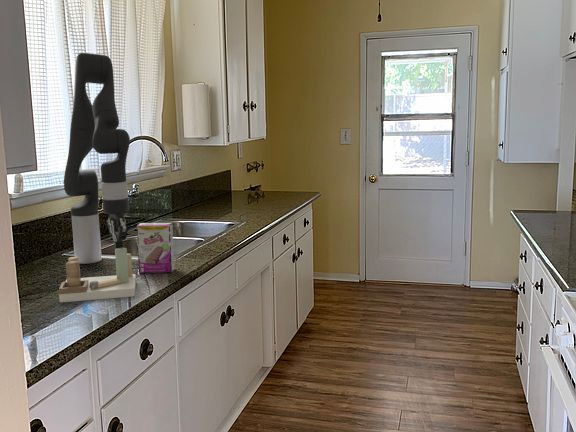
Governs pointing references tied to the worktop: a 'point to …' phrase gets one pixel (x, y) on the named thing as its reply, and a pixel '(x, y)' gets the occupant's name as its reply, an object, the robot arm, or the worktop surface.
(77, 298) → the stool seat
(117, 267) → the hinged leg
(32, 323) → the worktop surface
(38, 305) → the worktop surface
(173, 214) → the worktop surface
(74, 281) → the loose leg
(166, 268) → the candy bar box
